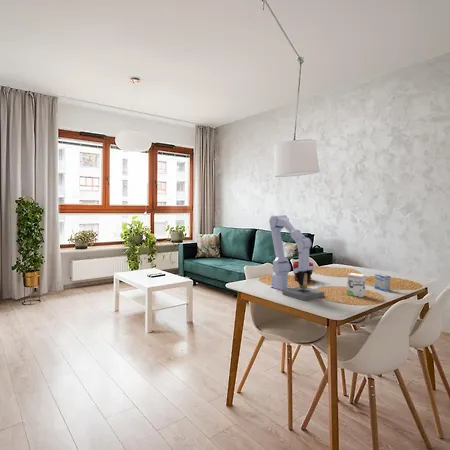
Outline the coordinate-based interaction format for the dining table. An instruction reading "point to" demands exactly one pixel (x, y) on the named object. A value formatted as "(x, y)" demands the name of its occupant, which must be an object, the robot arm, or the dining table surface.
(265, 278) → the dining table surface
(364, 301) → the dining table surface
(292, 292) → the docking block
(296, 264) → the plant pot
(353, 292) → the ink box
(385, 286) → the medicine box
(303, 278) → the peg
